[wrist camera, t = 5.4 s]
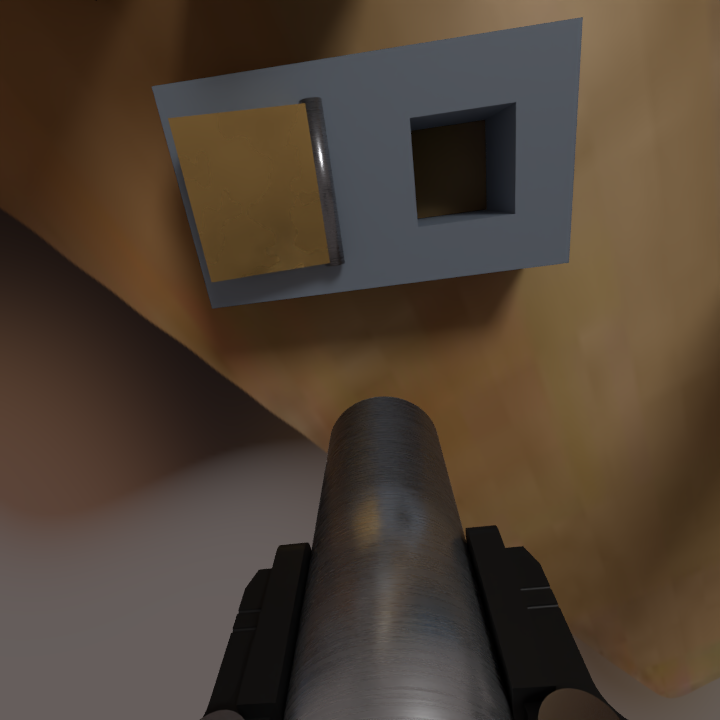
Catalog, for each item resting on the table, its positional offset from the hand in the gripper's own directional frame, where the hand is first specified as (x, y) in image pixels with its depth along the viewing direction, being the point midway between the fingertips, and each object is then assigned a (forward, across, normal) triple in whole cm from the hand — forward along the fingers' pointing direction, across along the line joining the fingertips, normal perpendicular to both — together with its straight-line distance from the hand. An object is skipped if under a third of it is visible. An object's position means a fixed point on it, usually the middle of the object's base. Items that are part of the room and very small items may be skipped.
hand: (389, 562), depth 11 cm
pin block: (+24, -1, -9) cm, 25 cm away
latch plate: (+17, +5, -9) cm, 20 cm away
